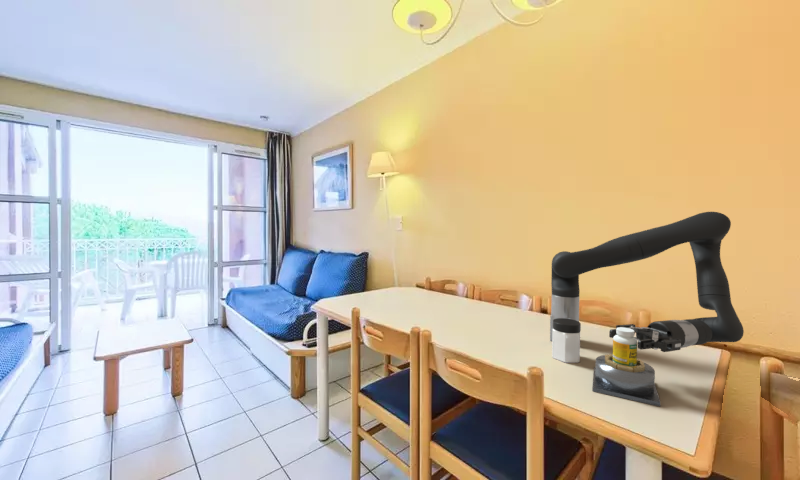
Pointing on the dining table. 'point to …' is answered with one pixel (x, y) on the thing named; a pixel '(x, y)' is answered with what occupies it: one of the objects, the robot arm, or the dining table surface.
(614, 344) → the supplement bottle
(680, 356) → the dining table surface
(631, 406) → the dining table surface
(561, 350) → the jar
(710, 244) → the robot arm
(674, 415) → the dining table surface
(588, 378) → the dining table surface
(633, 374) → the gold-rimmed grey pod
